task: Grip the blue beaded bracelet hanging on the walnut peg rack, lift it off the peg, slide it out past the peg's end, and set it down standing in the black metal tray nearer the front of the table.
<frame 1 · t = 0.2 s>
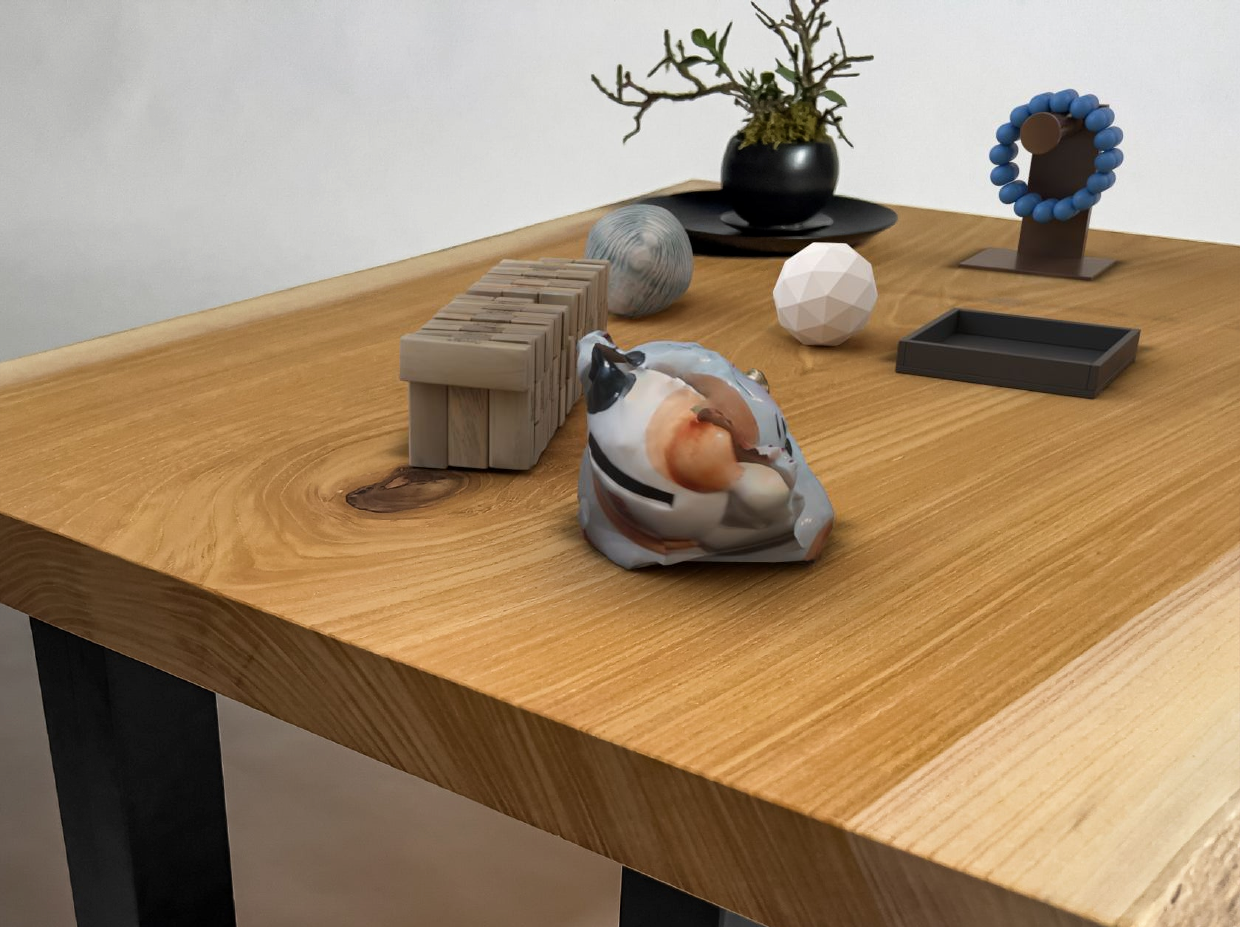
tray: (1016, 365, 119), on the table
geometric ball: (820, 346, 125), on the table
blue beaded bracelet: (1055, 156, 145), point 10 cm above the table, touching bracelet rack
lucky cat figurine: (700, 557, 83), on the table
grey streaked rounded piece: (637, 310, 137), on the table
bracelet rack: (1036, 274, 150), on the table
block tower: (514, 416, 107), on the table
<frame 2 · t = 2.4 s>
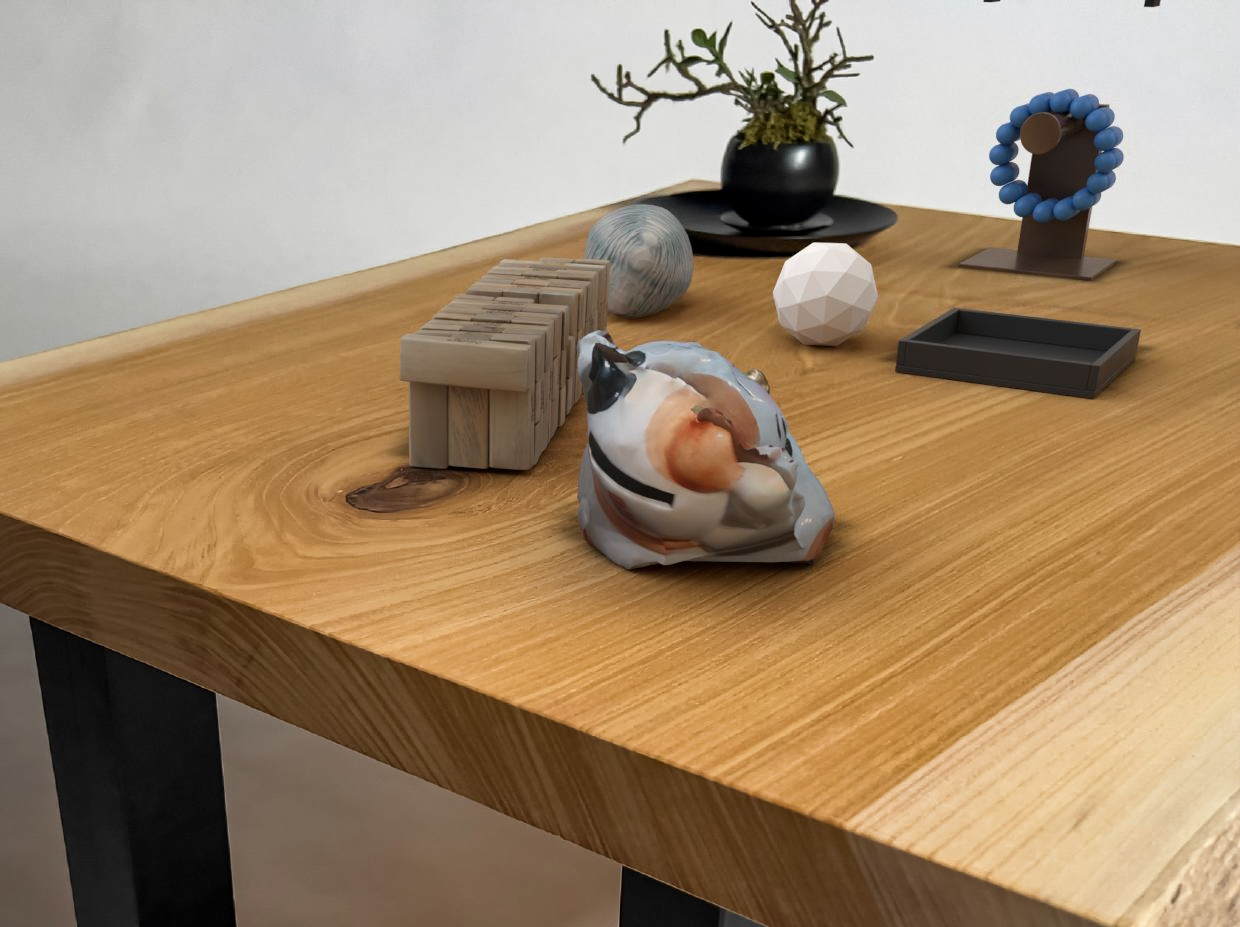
hand: (1069, 4, 139), 23 cm above the table, tool pointing down, fingers open, 13 cm apart
nothing on the table moved.
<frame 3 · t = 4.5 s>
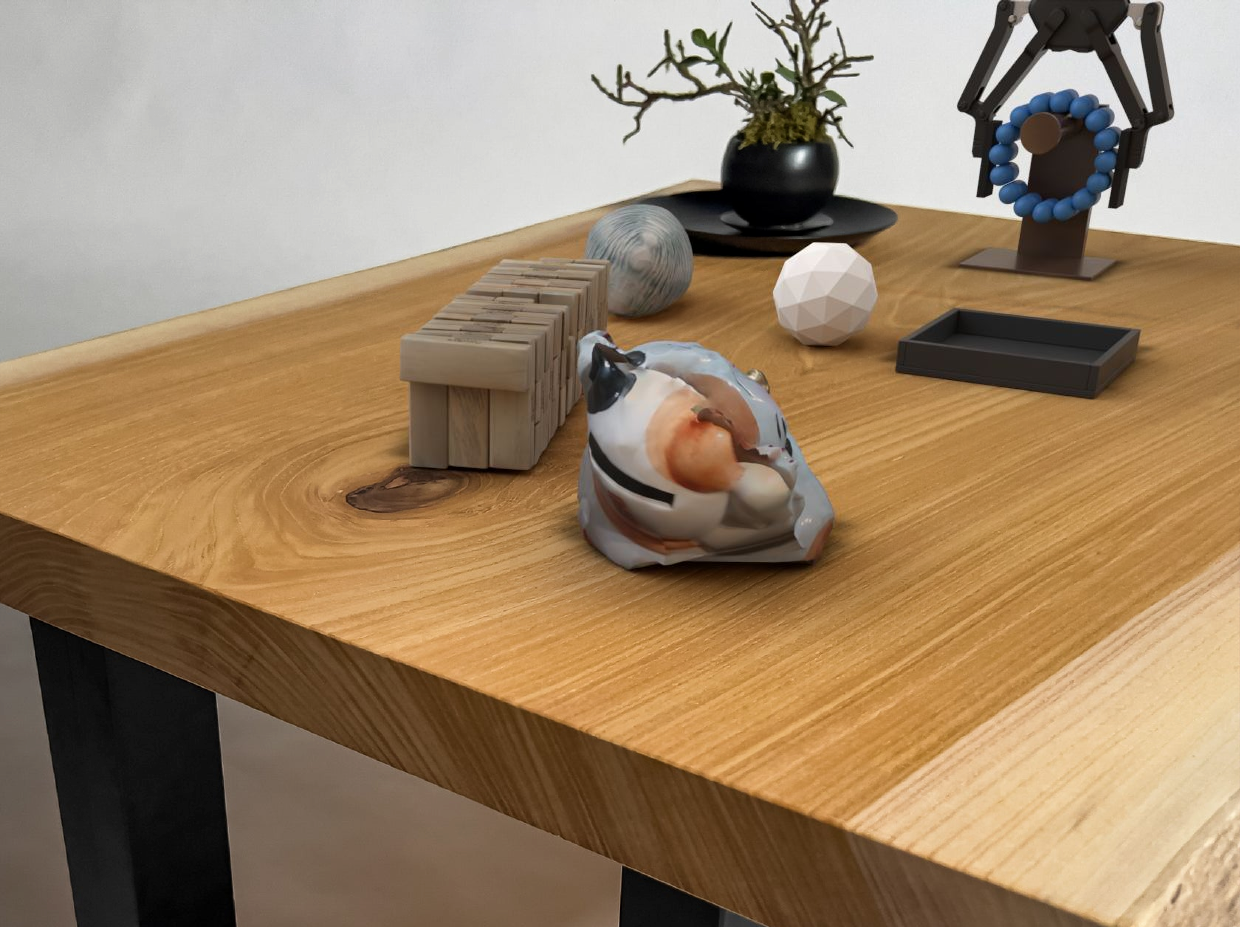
hand: (1048, 201, 147), 7 cm above the table, tool pointing down, fingers closed on blue beaded bracelet, 11 cm apart
blue beaded bracelet: (1055, 156, 145), point 10 cm above the table, touching gripper, bracelet rack
everything else where it was.
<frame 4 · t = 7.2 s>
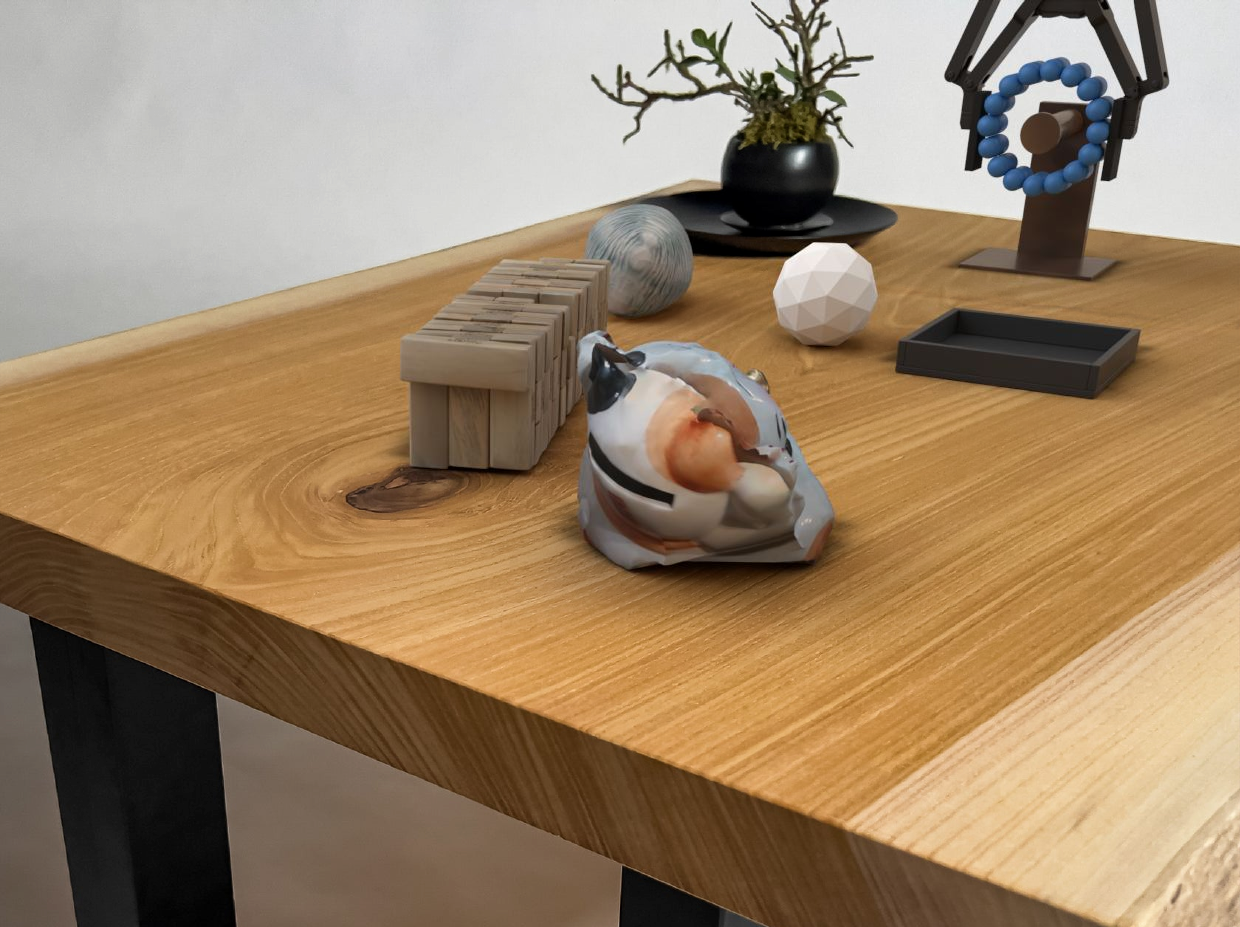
hand: (1039, 174, 142), 9 cm above the table, tool pointing down, fingers closed on blue beaded bracelet, 11 cm apart
blue beaded bracelet: (1046, 127, 140), point 13 cm above the table, touching gripper
everything else where it was.
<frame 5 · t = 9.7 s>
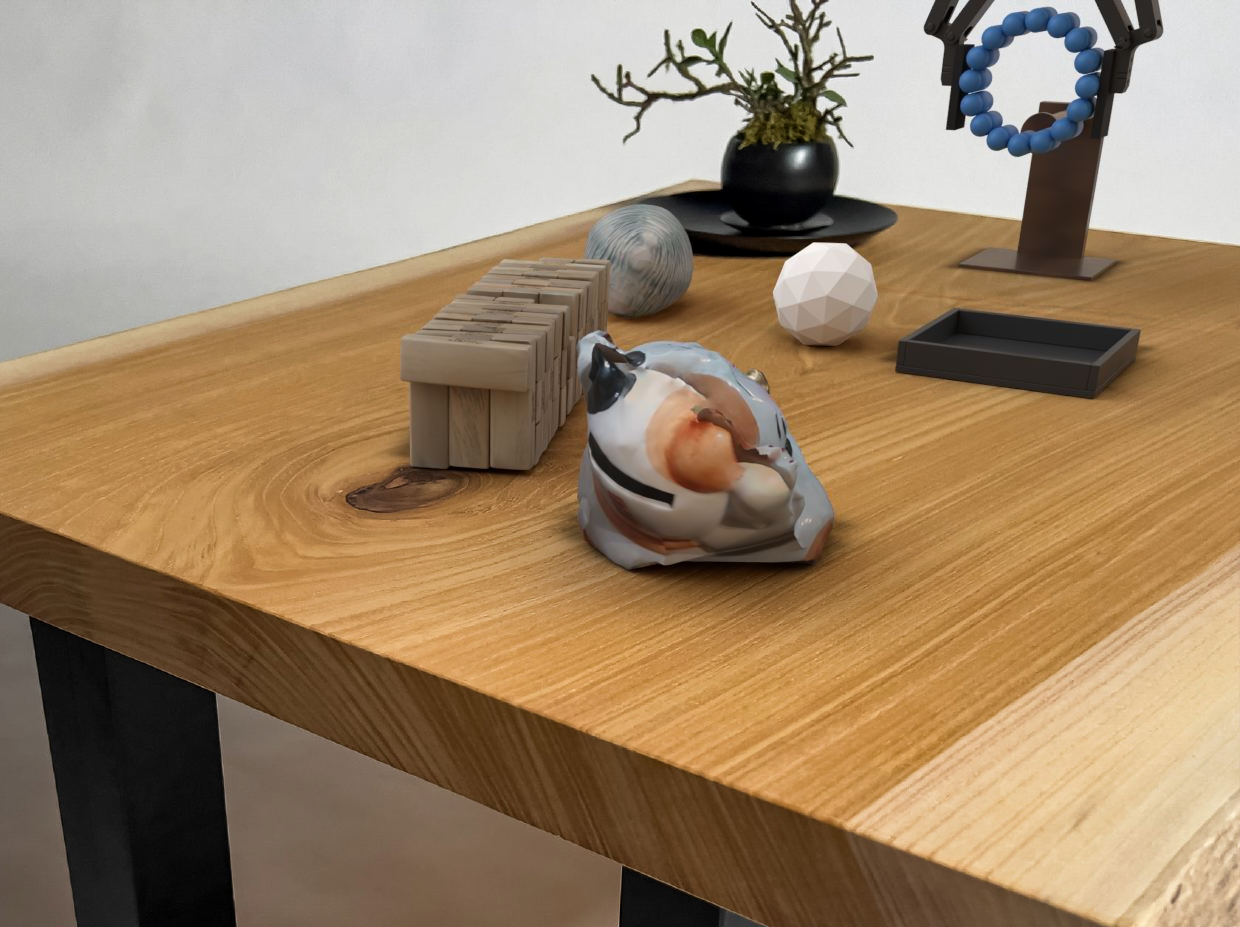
hand: (1025, 133, 133), 14 cm above the table, tool pointing down, fingers closed on blue beaded bracelet, 11 cm apart
blue beaded bracelet: (1032, 82, 131), point 18 cm above the table, touching gripper
everything else where it was.
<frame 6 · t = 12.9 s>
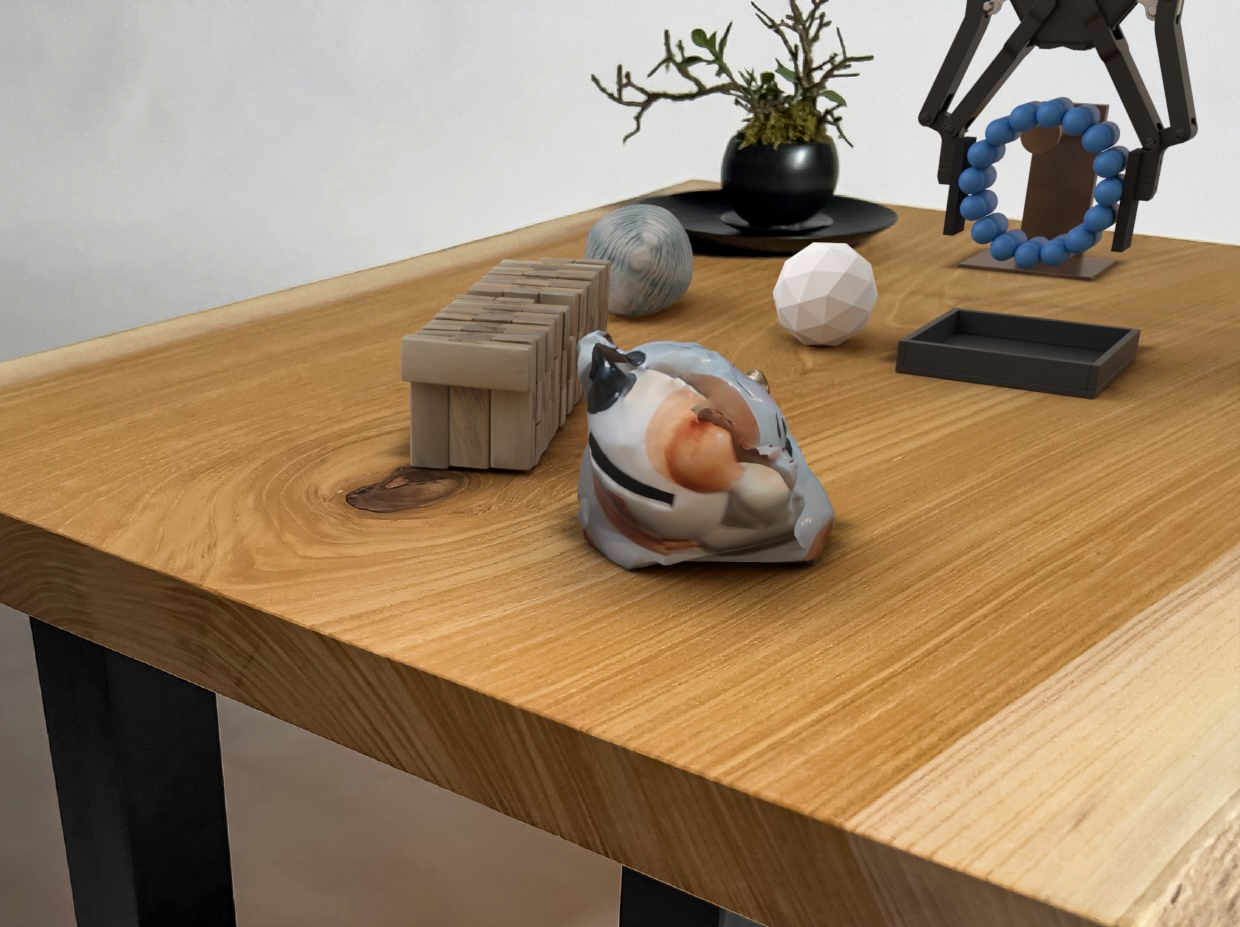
hand: (1034, 241, 115), 9 cm above the table, tool pointing down, fingers closed on blue beaded bracelet, 11 cm apart
blue beaded bracelet: (1044, 183, 113), point 13 cm above the table, touching gripper
everything else where it was.
when the fingers open (2 cm above the table, at t = 15.6 s): blue beaded bracelet moves 1 cm, resting on tray.
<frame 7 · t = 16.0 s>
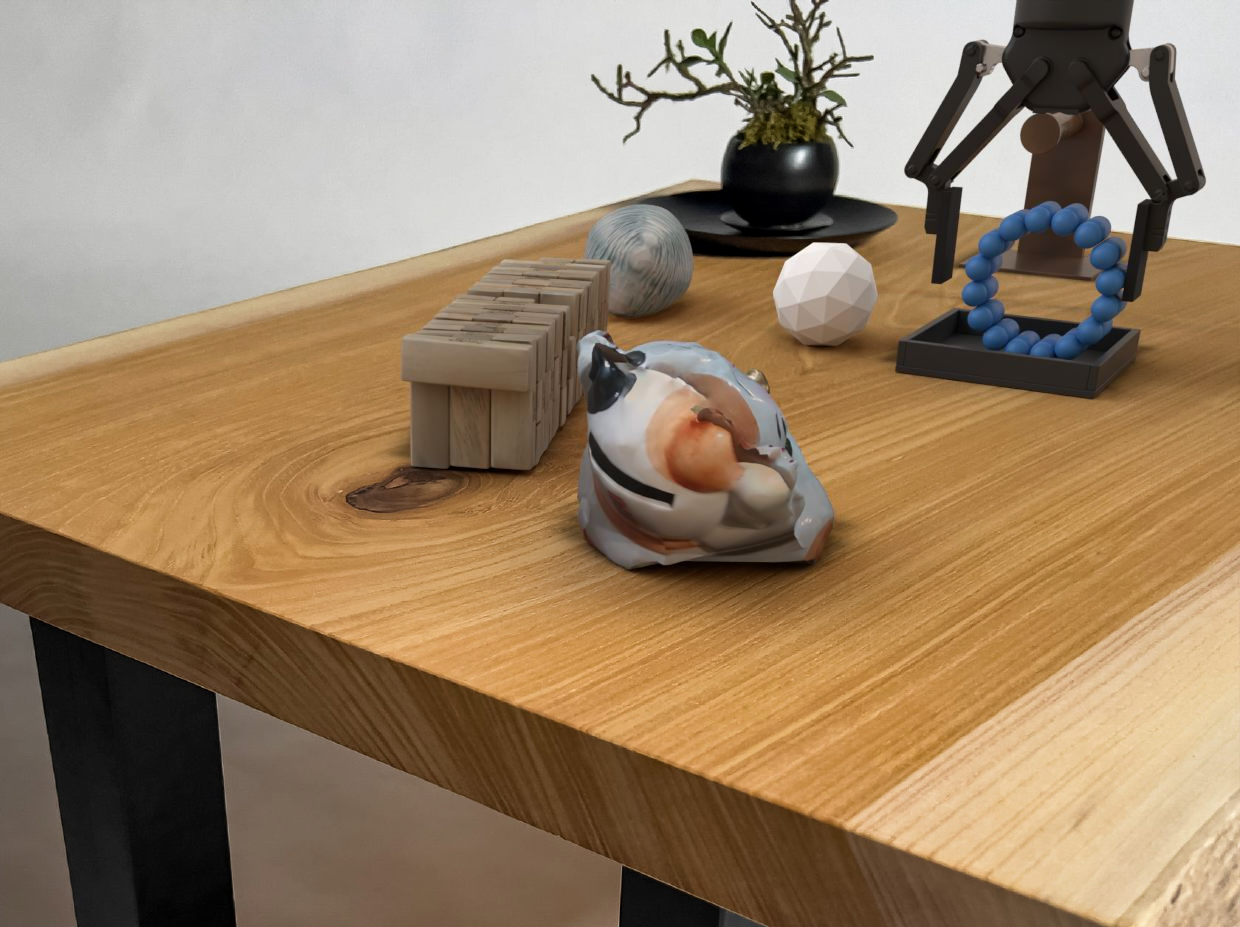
hand: (1033, 289, 116), 6 cm above the table, tool pointing down, fingers open, 13 cm apart
blue beaded bracelet: (1045, 284, 115), point 6 cm above the table, tilted 12°, touching tray
everything else where it was.
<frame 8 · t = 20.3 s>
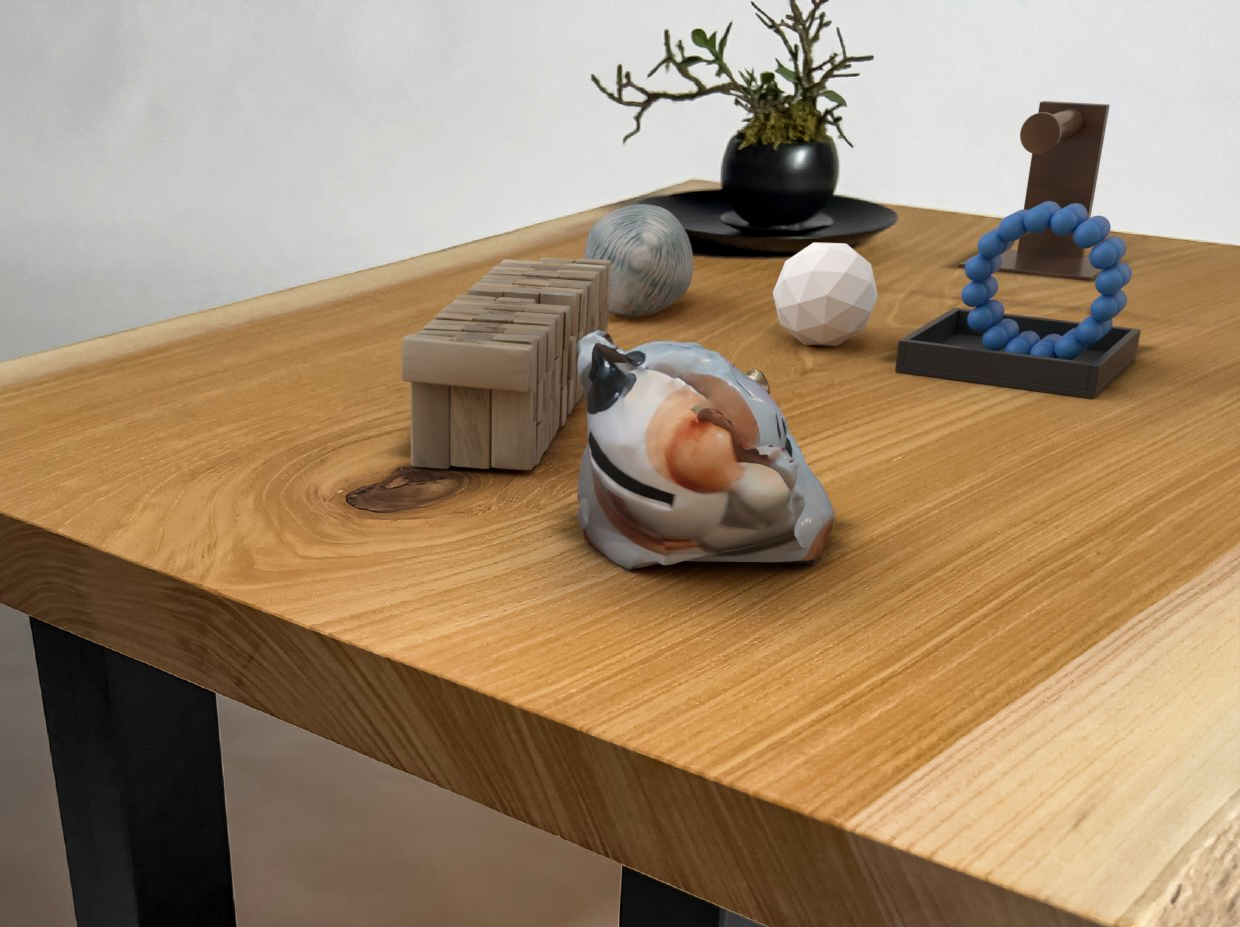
nothing on the table moved.
at the end: blue beaded bracelet inside the target area on the tray (1.1 cm from its centre), point 6.0 cm above the tray's base; the gripper is holding nothing; blue beaded bracelet touching tray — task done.
